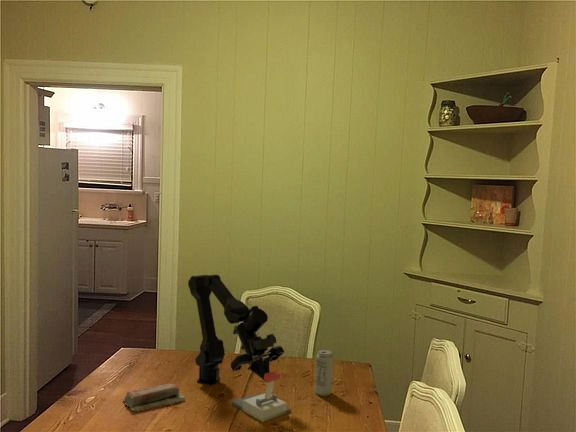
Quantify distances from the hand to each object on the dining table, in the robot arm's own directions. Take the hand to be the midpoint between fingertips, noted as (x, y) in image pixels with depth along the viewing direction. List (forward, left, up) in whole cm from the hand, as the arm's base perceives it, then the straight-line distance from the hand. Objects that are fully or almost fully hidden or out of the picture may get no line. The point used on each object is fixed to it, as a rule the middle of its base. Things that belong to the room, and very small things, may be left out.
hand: (268, 382), depth 169 cm
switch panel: (-3, +3, -10) cm, 11 cm away
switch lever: (-1, 0, -6) cm, 6 cm away
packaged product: (-38, -6, -11) cm, 40 cm away
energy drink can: (+12, +23, -11) cm, 28 cm away
